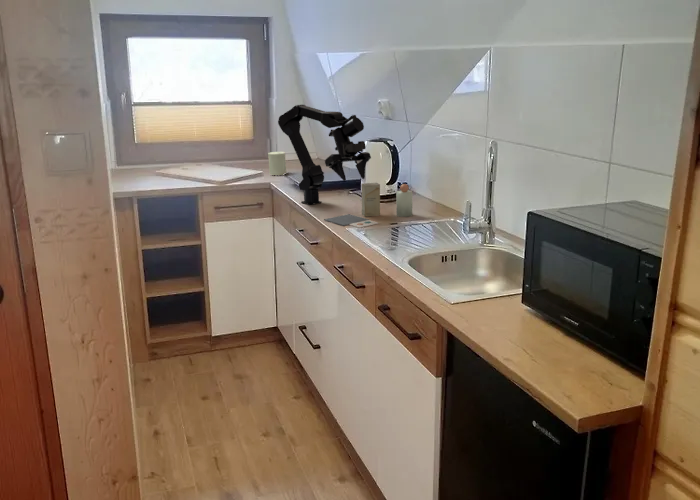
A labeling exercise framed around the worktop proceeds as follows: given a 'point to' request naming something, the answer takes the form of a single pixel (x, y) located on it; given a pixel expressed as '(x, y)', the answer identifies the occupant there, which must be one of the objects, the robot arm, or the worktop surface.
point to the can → (277, 163)
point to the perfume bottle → (404, 201)
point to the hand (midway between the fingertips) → (354, 179)
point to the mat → (345, 219)
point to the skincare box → (370, 199)
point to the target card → (363, 223)
